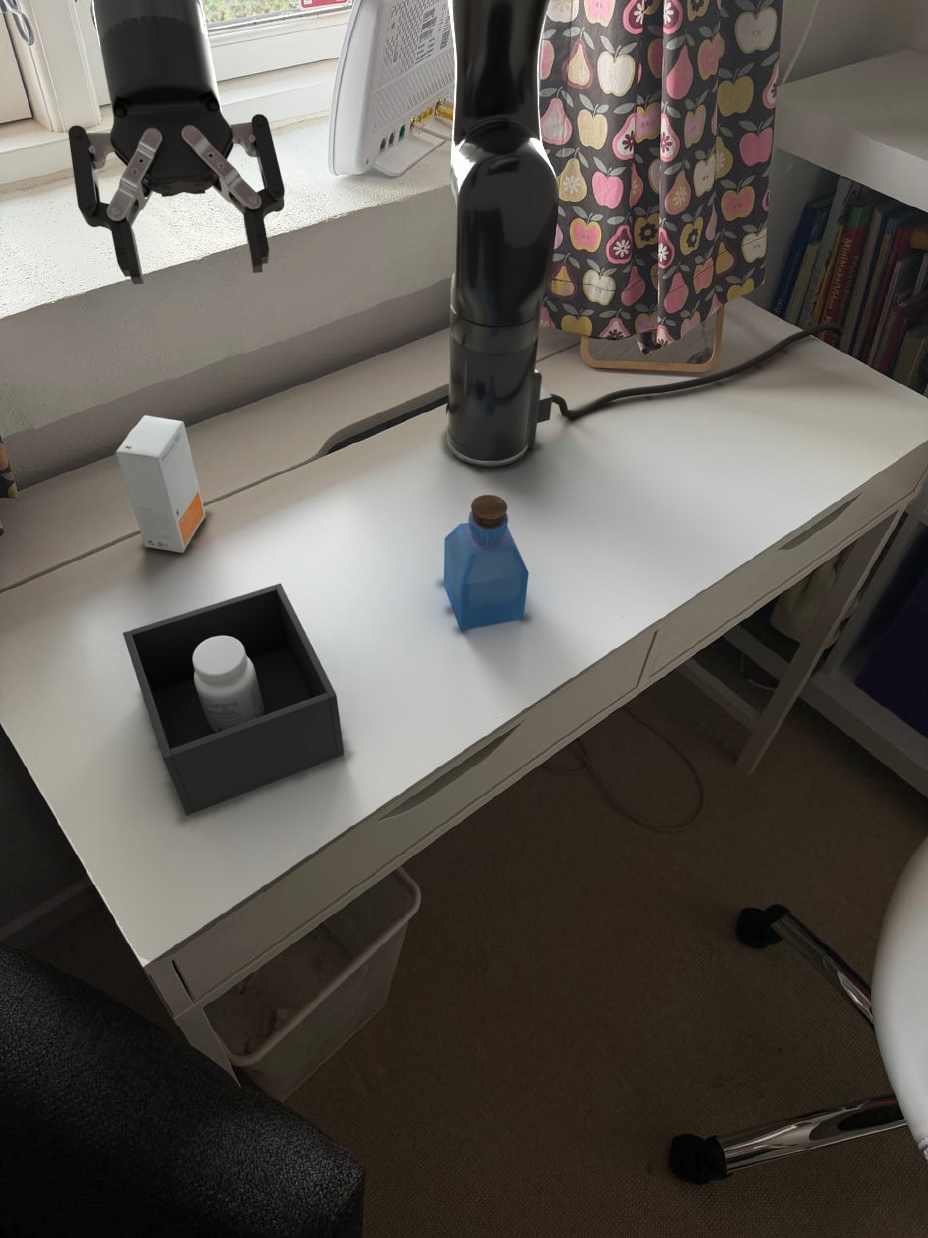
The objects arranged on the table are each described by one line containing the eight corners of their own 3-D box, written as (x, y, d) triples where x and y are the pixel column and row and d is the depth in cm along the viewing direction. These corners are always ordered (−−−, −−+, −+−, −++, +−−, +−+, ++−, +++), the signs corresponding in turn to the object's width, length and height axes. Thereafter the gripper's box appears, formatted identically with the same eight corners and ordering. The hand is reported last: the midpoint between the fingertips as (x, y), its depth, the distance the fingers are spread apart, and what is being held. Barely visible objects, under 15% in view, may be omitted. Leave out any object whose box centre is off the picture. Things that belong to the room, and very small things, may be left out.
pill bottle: (239, 686, 77) (222, 622, 70) (277, 715, 75) (263, 651, 68) (195, 720, 74) (174, 657, 68) (233, 751, 72) (215, 688, 66)
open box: (291, 644, 81) (280, 582, 75) (344, 754, 73) (337, 695, 67) (146, 693, 77) (122, 632, 71) (186, 816, 69) (163, 759, 63)
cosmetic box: (184, 554, 88) (157, 458, 79) (144, 547, 89) (112, 451, 80) (208, 515, 92) (184, 419, 83) (169, 509, 93) (142, 413, 84)
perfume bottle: (460, 630, 82) (464, 536, 74) (443, 584, 86) (445, 489, 77) (523, 618, 84) (534, 524, 75) (503, 573, 88) (512, 479, 79)
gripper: (35, 15, 58) (84, 266, 59) (255, 6, 60) (298, 246, 62) (62, 79, 65) (105, 301, 66) (257, 69, 68) (295, 282, 69)
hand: (198, 274), depth 64 cm, fingers open, 8 cm apart
